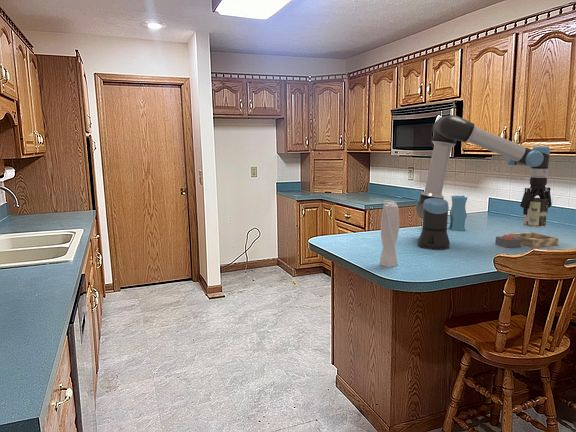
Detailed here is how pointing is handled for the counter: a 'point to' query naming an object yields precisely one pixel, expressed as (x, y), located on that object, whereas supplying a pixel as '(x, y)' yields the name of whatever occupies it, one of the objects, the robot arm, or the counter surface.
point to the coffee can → (537, 213)
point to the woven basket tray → (536, 239)
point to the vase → (458, 213)
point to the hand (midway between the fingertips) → (534, 220)
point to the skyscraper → (389, 233)
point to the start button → (508, 236)
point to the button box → (507, 242)
